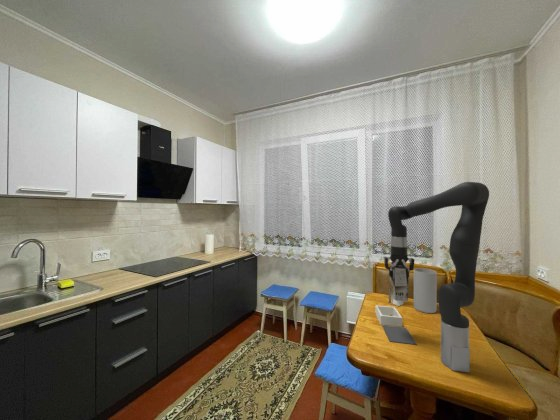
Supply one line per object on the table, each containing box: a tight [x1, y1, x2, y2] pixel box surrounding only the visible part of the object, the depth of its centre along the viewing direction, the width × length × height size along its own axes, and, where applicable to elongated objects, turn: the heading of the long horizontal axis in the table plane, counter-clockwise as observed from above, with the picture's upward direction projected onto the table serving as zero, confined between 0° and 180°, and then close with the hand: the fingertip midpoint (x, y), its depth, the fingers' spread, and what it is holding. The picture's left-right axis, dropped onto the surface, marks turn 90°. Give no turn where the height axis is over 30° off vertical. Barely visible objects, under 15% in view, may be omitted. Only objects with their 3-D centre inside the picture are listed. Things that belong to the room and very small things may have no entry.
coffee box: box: [389, 265, 409, 302], centre depth 115 cm, size 9×6×16 cm
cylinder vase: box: [413, 267, 438, 314], centre depth 145 cm, size 12×12×25 cm
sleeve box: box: [374, 304, 403, 328], centre depth 131 cm, size 14×11×5 cm
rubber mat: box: [381, 325, 418, 346], centre depth 115 cm, size 15×12×1 cm
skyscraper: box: [388, 286, 405, 307], centre depth 153 cm, size 8×8×28 cm
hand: (398, 277), depth 115 cm, fingers closed on coffee box, 6 cm apart
